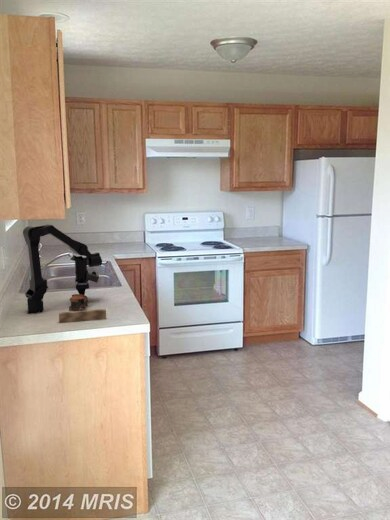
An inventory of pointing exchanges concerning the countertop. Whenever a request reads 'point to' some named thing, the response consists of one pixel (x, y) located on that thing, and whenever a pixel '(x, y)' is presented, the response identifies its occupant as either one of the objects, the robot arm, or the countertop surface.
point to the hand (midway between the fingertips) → (82, 299)
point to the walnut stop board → (82, 315)
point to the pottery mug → (78, 302)
